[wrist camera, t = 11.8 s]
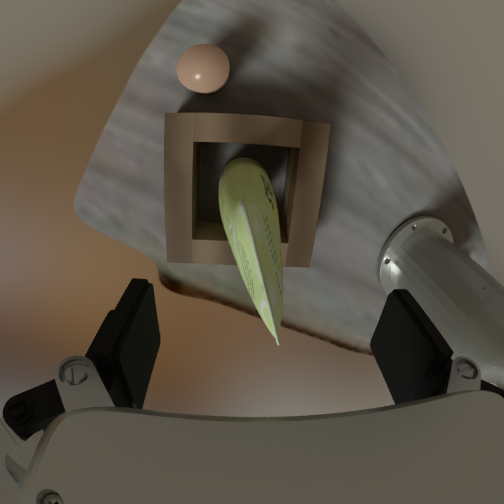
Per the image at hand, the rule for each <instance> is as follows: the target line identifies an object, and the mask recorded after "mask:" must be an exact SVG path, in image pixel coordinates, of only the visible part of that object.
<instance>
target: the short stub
mask: <svg viewBox="0 0 504 504" xmlns="http://www.w3.org/2000/svg"><path fill="white" fill-rule="evenodd" d="M229 69H230V64H229V60H228V57H227V55H226V54H225V53H224V52H223V51H222V50H221V49H220V48H218V47H216V46H214V45H210V44H199V45H195V46H193V47H191V48H189V49H188V50H186V51H185V52H184V53H183V54H182V55H181V57H180V58H179V60H178V63H177V76H178V78H179V80H180V82H181V83H182V84H183V85H184V86H185V87H186V88H188V89H190V90H192V91H196V92H199V93H202V94H213V93H216V92H218V91H220V90H222V89H223V88H224V87H225V85H226V84H227V82H228V80H229Z"/></svg>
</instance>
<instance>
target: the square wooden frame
mask: <svg viewBox="0 0 504 504" xmlns="http://www.w3.org/2000/svg"><path fill="white" fill-rule="evenodd" d="M330 126H331V124H329V123H322V122H315V121H308V120H300V119H292V118H283V117H273V116H261V115H247V114H228V113H165V132H164V201H165V229H166V247H167V262H175V263H198V264H223V265H237V263H236V260H235V257H234V255H233V252H232V249H231V246H230V244H229V241H228V238H227V235H226V232H225V229H224V226H223V222H222V221H198V181H199V148H200V142H227V143H246V144H262V145H274V146H285V147H289V151H288V161H287V171H286V180H285V189H284V198H283V207H282V216H281V224H279V226H280V238H281V254H282V267H310V262H311V256H312V251H313V245H314V239H315V233H316V227H317V221H318V215H319V209H320V202H321V196H322V189H323V182H324V175H325V167H326V159H327V152H328V143H329V135H330Z"/></svg>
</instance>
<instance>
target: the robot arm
mask: <svg viewBox="0 0 504 504" xmlns="http://www.w3.org/2000/svg"><path fill="white" fill-rule="evenodd" d="M378 279H379V282H380V284H381V286H382V288H383V289H384V291H385V292H386V293H387V294H388V297H387V300H386V303H385V306H384V308H383V311H382V314H381V316H380V319H379V322H378V324H377V327H376V329H375V332H374V334H373V337H372V339H371V342H370V347H371V350H372V353H373V355H374V357H375V359H376V361H377V364H378V366H379V368H380V370H381V372H382V375H383V377H384V379H385V381H386V384H387V386H388V388H389V391H390V393H391V395H392V398H393V400H394V402H395V405H390V406H384V407H379V408H372V409H365V410H358V411H350V412H342V413H333V414H321V415H308V416H289V417H228V416H227V417H226V416H209V415H195V414H182V413H172V412H163V411H155V410H145V409H142V407H143V403H144V399H145V395H146V392H147V388H148V385H149V381H150V378H151V374H152V370H153V367H154V363H155V360H156V357H157V353H158V350H159V346H160V332H159V325H158V318H157V312H156V304H155V297H154V289H153V285H152V284H151V283H149V282H148V280H147V279H137V278H133V279H132V280H131V282H130V284H129V285H128V287H127V289H126V290H125V292H124V294H123V295H122V297H121V299H120V301H119V302H118V304H117V306H116V308H115V310H110V311H109V313H108V314H107V316H106V318H105V320H104V321H103V323H102V325H101V327H100V329H99V331H98V332H97V334H96V336H95V338H94V340H93V342H92V344H91V345H90V347H89V349H88V351H87V353H86V355H85V357H84V356H71V357H68V358H65V359H63V360H62V361H61V362H60V363H59V364H58V365H57V367H56V369H55V373H54V376H55V379H54V380H52V381H49V382H47V383H44V384H42V385H39V386H37V387H35V388H33V389H30V390H28V391H25V392H23V393H20V394H18V395H15V396H13V397H12V398H10V399H9V400H8V401H7V402H6V404H5V406H4V409H3V416H2V417H1V418H0V504H504V287H503V286H502V285H501V284H500V283H499V282H498V281H497V280H496V279H495V278H494V277H492V276H491V275H490V274H489V273H488V272H487V271H486V270H484V269H483V268H482V267H481V266H480V265H479V264H477V263H476V262H475V261H474V260H473V259H471V258H470V257H469V256H468V255H466V254H465V253H464V252H463V251H462V250H460V249H459V248H458V247H456V246H455V245H454V243H453V237H452V233H451V231H450V229H449V227H448V226H447V225H446V224H445V223H444V222H442V221H441V220H439V219H438V218H435V217H433V216H427V215H426V216H418V217H415V218H412V219H410V220H408V221H407V222H405V223H403V224H402V225H401V226H400V227H398V228H397V229H396V230H395V231H394V233H393V234H392V235H391V236H390V237H389V239H388V240H387V242H386V243H385V245H384V247H383V249H382V251H381V254H380V258H379V262H378ZM490 383H495V384H496V385H497V386H498V387H496V386H494V385H492V384H490Z"/></svg>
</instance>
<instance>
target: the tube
mask: <svg viewBox="0 0 504 504" xmlns="http://www.w3.org/2000/svg"><path fill="white" fill-rule="evenodd" d="M219 206H220V213H221V218H222V222H223V226H224V229H225V232H226V235H227V238H228V241H229V244H230V246H231V249H232V252H233V255H234V257H235V260H236V263H237V265H238V268H239V270H240V273H241V275H242V278H243V280H244V283H245V285H246V287H247V290H248V292H249V294H250V296H251V298H252V300H253V302H254V304H255V306H256V308H257V310H258V312H259V314H260V316H261V317H262V319H263V321H264V322H265V324H266V326H267V327H268V329H269V330H270V332H271V333H272V335H273V336H274V337H275V338H276V342H277V345H280V342H279V337H278V336H279V330H280V324H281V316H282V304H283V273H282V254H281V238H280V226H279V217H278V209H277V204H276V199H275V195H274V191H273V188H272V185H271V182H270V180H269V177H268V175H267V173H266V171H265V169H264V168H263V166H262V165H261V164H260V163H259V162H257V161H256V160H254V159H251V158H246V157H242V158H236V159H234V160H232V161H230V162H229V163H228V164H227V165H226V166H225V167H224V168H223V170H222V172H221V175H220V179H219Z"/></svg>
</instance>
